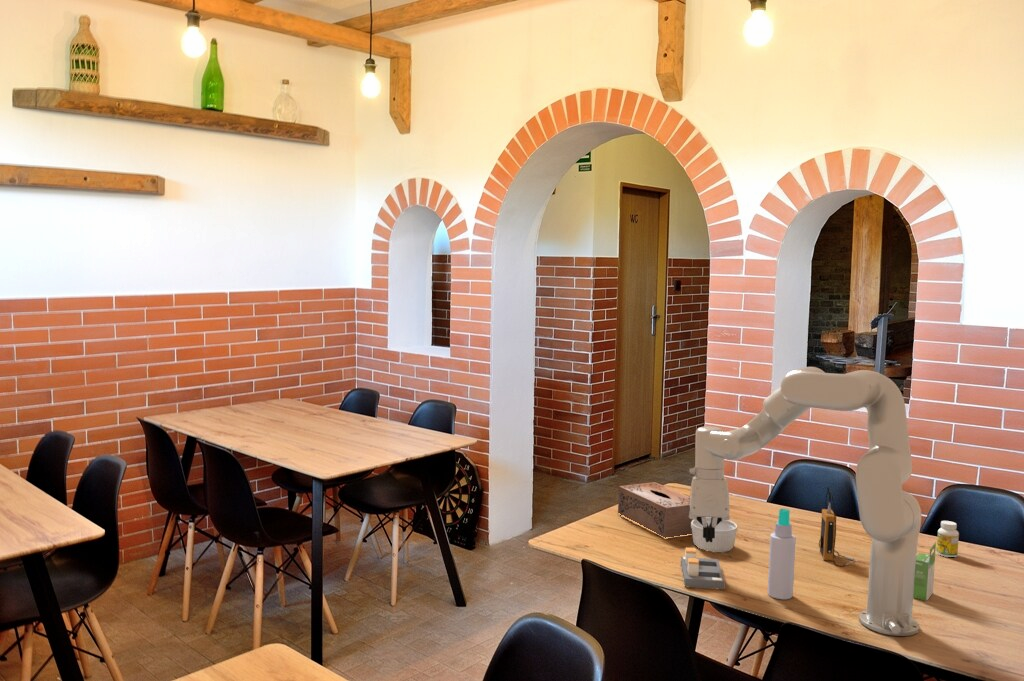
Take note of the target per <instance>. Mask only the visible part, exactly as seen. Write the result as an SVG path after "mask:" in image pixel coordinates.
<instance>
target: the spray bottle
mask: <svg viewBox="0 0 1024 681" xmlns="http://www.w3.org/2000/svg"><path fill="white" fill-rule="evenodd" d="M790 513H791V512H790V509H787V508H779V510H778V521H776V522H775V527H774V532H772V533H770V537H769V554H768V555H769V557H768V572H767V573H768V574H767V575H768V576H767V594H768V596H769V597H771V598H773V599H776V600H790V599H792V598H793V596H794V577H795V563H796V562H795V561H796V559H795V558H796V542H797V537H796V536H795V535H794V534H792V532H793V531H792V530H793V525H792V523H790Z"/></svg>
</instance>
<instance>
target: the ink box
mask: <svg viewBox="0 0 1024 681" xmlns="http://www.w3.org/2000/svg"><path fill="white" fill-rule="evenodd" d="M936 548H937V541H935V542H934V543H933V545H932V546H931V547H930V549H929V554H927V553H922V552H919V553H918V554H916V564H915V578H914V592H913V599H915V598H918V599H917V600H919V599H921V600H920V601H924V600H925V601H926V602H927V601H928V600H929V598H931V596H932V595H933V594H934V586H935V584H934V580H935V562H936ZM932 551H933V552H932Z"/></svg>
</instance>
